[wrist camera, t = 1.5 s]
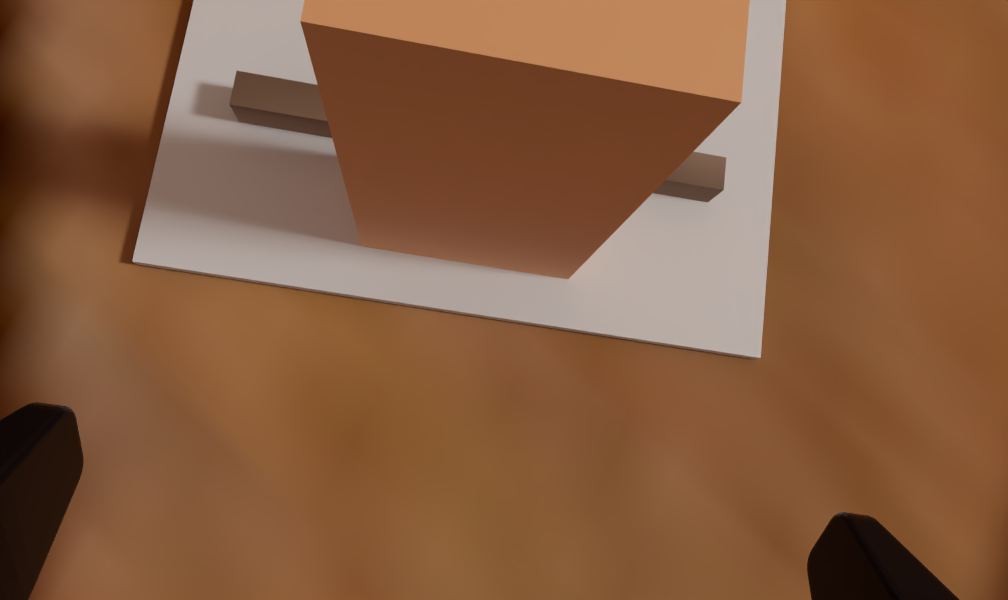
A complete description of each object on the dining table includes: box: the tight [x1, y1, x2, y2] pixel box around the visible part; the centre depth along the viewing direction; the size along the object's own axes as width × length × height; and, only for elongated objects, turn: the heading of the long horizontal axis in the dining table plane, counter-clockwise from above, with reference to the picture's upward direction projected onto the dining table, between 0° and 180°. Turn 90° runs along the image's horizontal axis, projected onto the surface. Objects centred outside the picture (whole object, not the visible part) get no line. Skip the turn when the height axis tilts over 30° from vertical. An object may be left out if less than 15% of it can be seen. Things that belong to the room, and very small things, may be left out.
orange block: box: [300, 0, 750, 279], centre depth 16 cm, size 3×6×12 cm, turn 82°
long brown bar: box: [229, 71, 726, 202], centre depth 22 cm, size 1×14×1 cm, turn 82°
